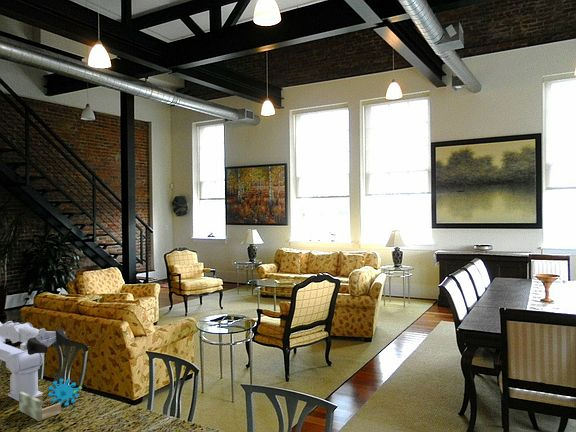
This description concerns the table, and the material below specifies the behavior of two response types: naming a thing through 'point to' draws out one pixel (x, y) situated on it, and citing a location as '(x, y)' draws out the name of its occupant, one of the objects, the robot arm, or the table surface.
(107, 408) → the table surface
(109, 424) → the table surface
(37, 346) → the robot arm
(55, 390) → the gear
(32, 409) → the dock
